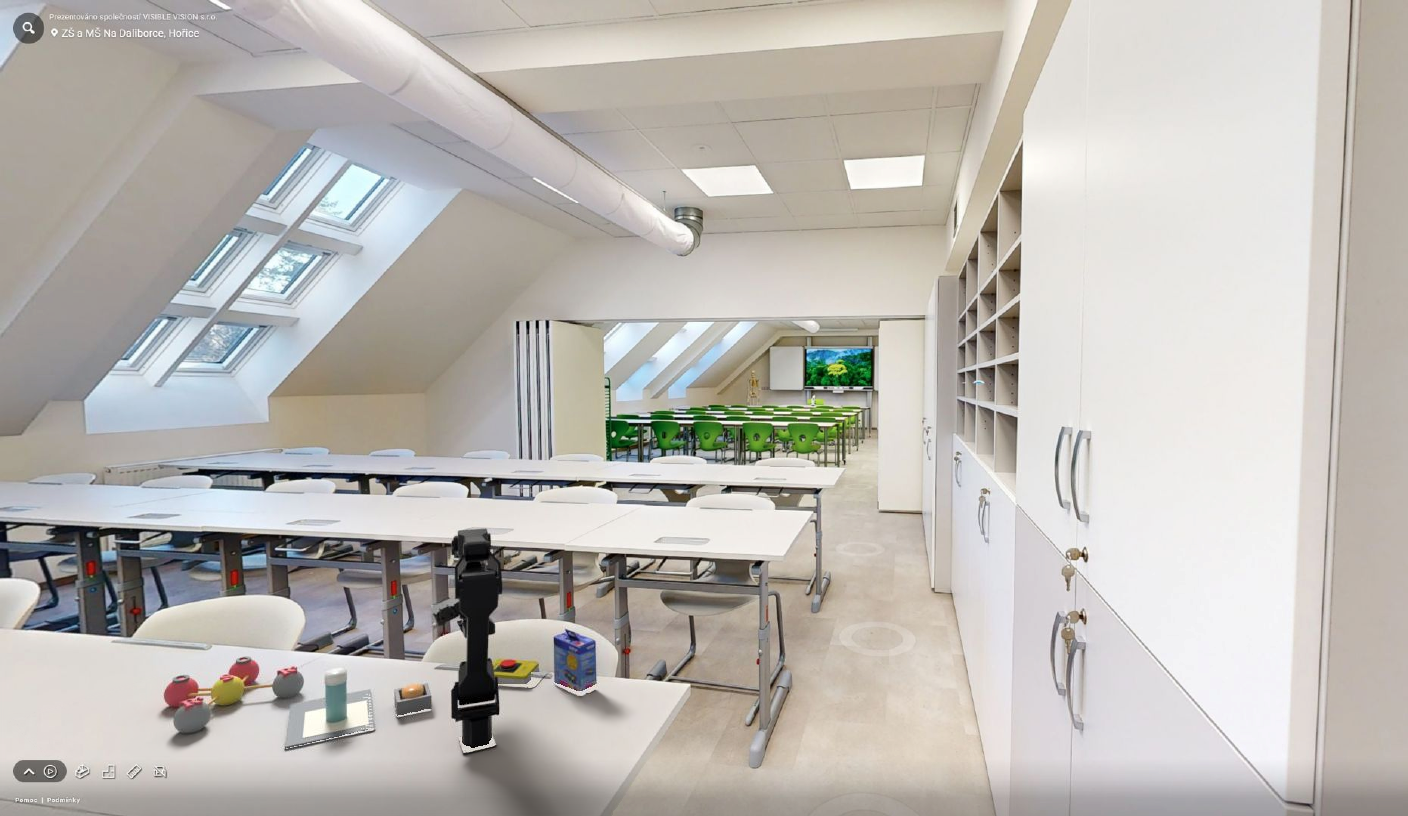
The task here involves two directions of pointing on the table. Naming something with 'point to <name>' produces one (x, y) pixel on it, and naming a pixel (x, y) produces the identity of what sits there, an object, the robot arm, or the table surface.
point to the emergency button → (514, 671)
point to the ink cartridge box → (574, 661)
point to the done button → (412, 691)
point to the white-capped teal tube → (336, 695)
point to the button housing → (412, 701)
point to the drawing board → (312, 725)
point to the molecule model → (223, 692)
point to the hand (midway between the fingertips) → (473, 654)
